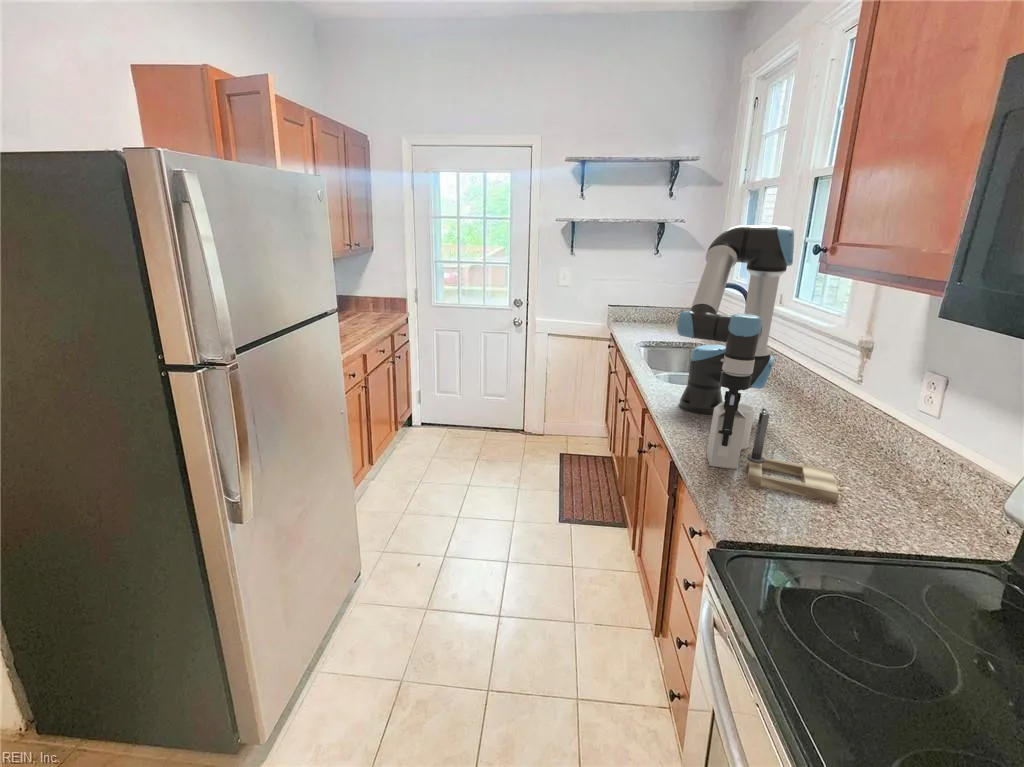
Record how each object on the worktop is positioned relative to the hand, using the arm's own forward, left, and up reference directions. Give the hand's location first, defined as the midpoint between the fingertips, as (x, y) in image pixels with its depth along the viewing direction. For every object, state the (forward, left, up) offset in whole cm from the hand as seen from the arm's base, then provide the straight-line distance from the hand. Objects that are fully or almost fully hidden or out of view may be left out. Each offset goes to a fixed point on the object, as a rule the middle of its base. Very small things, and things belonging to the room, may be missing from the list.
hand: (723, 447), depth 142 cm
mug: (-16, +1, -5) cm, 17 cm away
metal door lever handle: (-2, +8, -5) cm, 10 cm away
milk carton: (0, 0, -5) cm, 5 cm away
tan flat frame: (+3, +17, -5) cm, 18 cm away
